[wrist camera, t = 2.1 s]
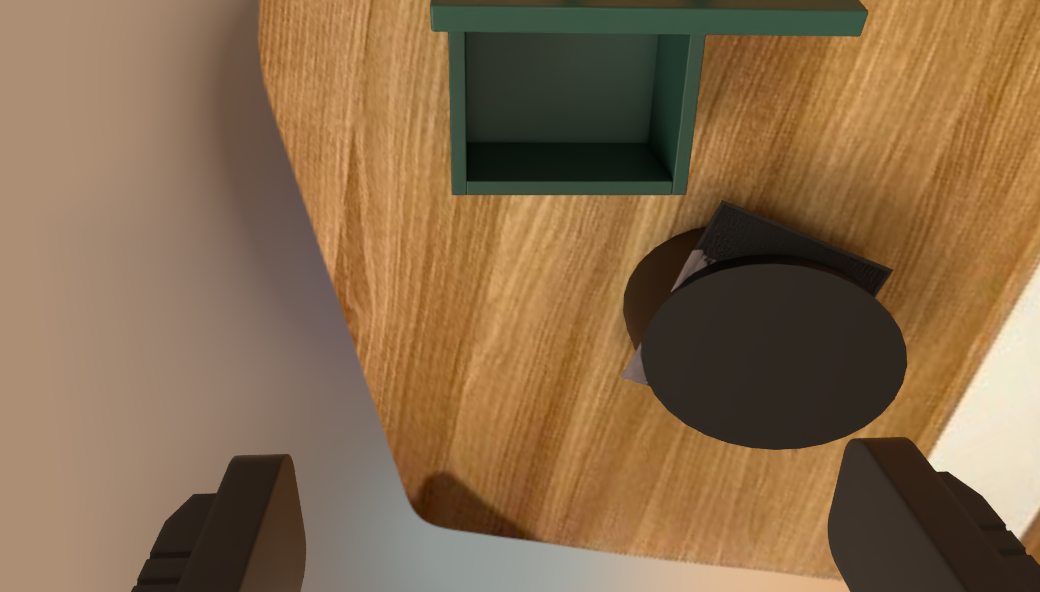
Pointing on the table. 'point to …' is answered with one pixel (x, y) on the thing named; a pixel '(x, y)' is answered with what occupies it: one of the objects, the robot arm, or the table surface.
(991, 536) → the robot arm
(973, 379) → the table surface
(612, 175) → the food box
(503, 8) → the lid
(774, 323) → the waffle maker
